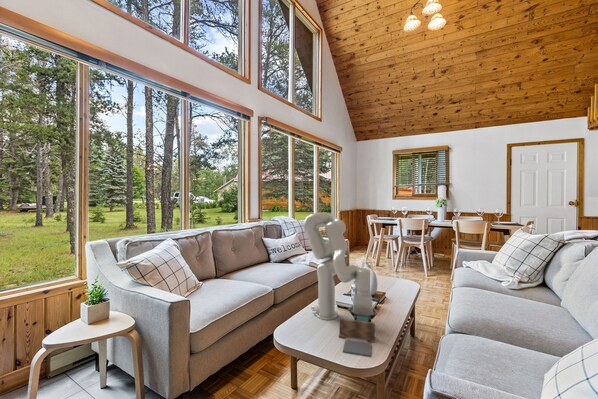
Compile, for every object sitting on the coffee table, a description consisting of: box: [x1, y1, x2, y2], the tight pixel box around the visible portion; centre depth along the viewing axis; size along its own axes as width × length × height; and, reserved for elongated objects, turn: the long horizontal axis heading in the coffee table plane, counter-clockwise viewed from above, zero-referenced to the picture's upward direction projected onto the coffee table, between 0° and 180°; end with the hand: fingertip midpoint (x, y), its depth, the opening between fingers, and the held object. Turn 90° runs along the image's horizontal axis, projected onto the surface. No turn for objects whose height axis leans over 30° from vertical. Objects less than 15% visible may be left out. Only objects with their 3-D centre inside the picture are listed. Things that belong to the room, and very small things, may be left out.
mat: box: [342, 339, 372, 357], centre depth 127 cm, size 12×10×1 cm
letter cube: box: [357, 314, 369, 322], centre depth 148 cm, size 6×6×6 cm
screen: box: [338, 317, 376, 344], centre depth 137 cm, size 17×6×8 cm, turn 74°
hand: (362, 325), depth 148 cm, fingers closed on letter cube, 6 cm apart
